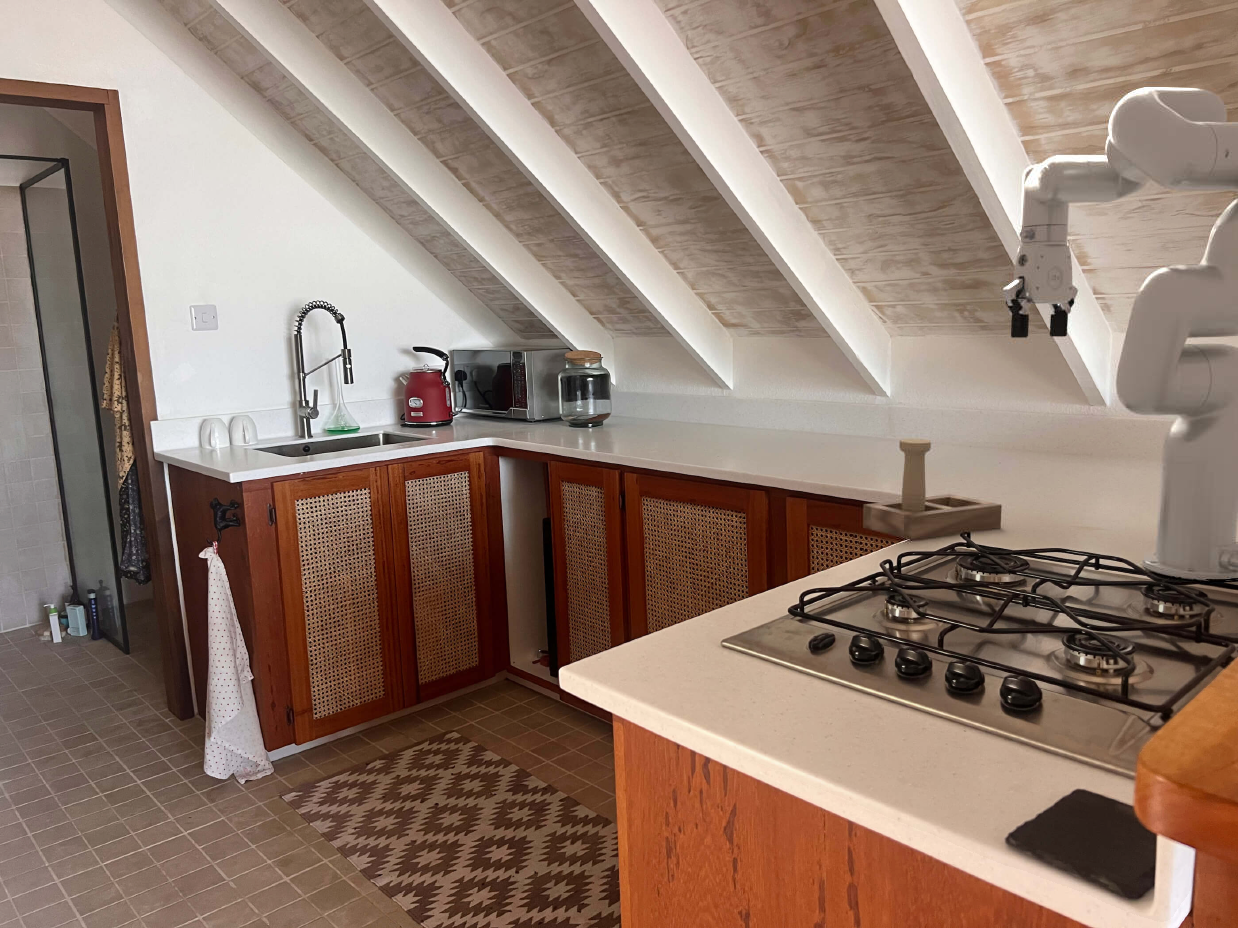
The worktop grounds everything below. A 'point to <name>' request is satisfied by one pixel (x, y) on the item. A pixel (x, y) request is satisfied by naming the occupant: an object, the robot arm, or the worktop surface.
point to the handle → (914, 474)
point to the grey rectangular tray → (933, 517)
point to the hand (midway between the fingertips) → (1039, 337)
